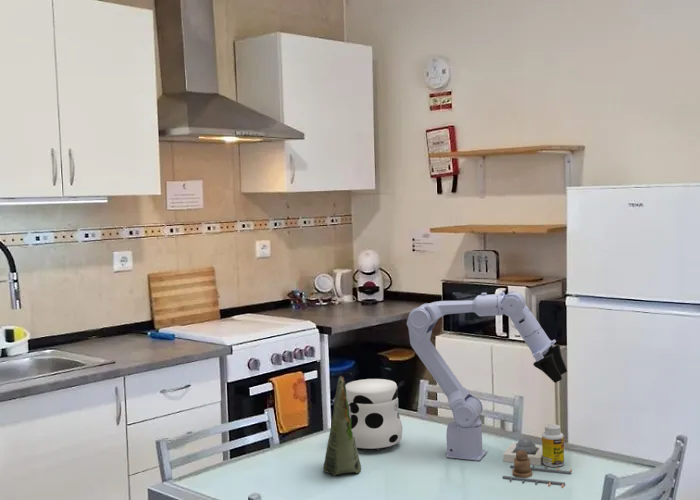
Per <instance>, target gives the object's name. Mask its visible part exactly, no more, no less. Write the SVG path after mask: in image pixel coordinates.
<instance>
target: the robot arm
mask: <svg viewBox="0 0 700 500" xmlns="http://www.w3.org/2000/svg"><path fill="white" fill-rule="evenodd" d="M465 313H475V315H477V316H478V317H494V316H503V315H505V316H507V317H509V319H510V320H511V322H512V323H513V326H514V327H515V329H516V331H517V332H518V333H519V335H520V336H521V337H522V340H523V341H524V342H525V344H526V346H527V347H528V348H529V350H530V352H531V354H532V357H533V359H535V362H533V363H532V365H533V367H534V368H537V369H538V370H540V371H541V372H542V373H544V374H545V375H546V376H547V377H548V378H549V379H550V380H551V381H552V382H553V383H555V384H556V383H558V382H560V381H562V379H563V378H562V375H563V374H565V373H567V372H568V370H567V367H566V364H565V362H564V359H563V357H562V352H561V345H560V344H559V343H558V344H556V345H554V344H555V343H556V342H557V340H556V339H553V340H551V339H550V338H549V336H548V335H547V333H546V332H545V330H544V329H543V327H542V326H541V324H540V322H539V321H538V320H537V318H536V317H535V315H534V314H533V312H532V311H531V310H530V308H529V307H528V306H527V305H526V299H525V296H523V294H521V292H517V291H510V292H507V294H506V293H505V291H500V293H497V294H495V293H493V294H488V293H487V292H481V293H480V294H478V295H477V296H475V298H474V299H473V300H439V301H433V302H430V303H428V302H425V303H423V304H421V305H419V306H418V307H415V308H413V309H412V310H411V311H410V312H409V314H408V317H407V320H406V326H407V328H408V336H409V343H410V346H411V348H412V350H414V352H415V354H416V355H417V356H418V358H419V359H420V360H421V362H422V364H424V366H425V368H426V369H427V370H428V372H429V373H430V375H431V376H432V378H433V379H434V380H435V382H436V383H437V385H438V386H439V388H440V390H441V391H442V392H443V394H444V395H445V396H446V398H447V403H448V407H449V409H450V410H451V412H452V416H453V417H452V418H453V420H454V422H449V423H448V424H447V425H446V435H445V436H446V437H445V438H446V458H449V459H458V460H466V461H467V460H468V461H481V459H482V458H483V457H485V455H486V454H487V453H488V450H487V449H483V427H482V420H481V419H480V418H481V417H480V416H481V414H482V412H483V408H484V407H483V403H482V401H481V400H480V399H479V398H478V397H476V396H475V395H473V394H472V393H471V392H470V390H469V389H467V387H466V388H465V386H463V385H462V383H461V382H460V381H459V379H458V377H456V375H455V374H454V372H453V371H452V369H451V368H450V366H449V365H448V364H447V362H446V360H445V359H444V358H443V356H442V355H441V353H440V352H439V351H438V350H437V347H436V346H435V345H434V344H433V342H432V341H431V338H432V334H433V328H434V327H435V325H436V323H437V322H438V320H439V319H440V318H442V317H443V316H446V315H453V314H465Z"/></svg>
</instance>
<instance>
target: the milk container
mask: <svg viewBox="0 0 700 500" xmlns="http://www.w3.org/2000/svg"><path fill="white" fill-rule="evenodd" d="M345 386H346V394H347V401H348V406H349V416H350V418H351V430H352V434H353V437H354V438H355V442H356V447H357V451H367V452H369V451H371V452H372V451H373V452H374V451H375V452H376V451H383V450H387V449H391V448H394V447H395V446H397V445H398V444H399V443H400V442H401V440H402V437H403V423H402V420H401V417H400V413H399V398H398V397H399V391H398V385H397V383H396V382H395V381H394V380H391V379H384V378H366V379H358V380H352V381H349V382H347V383H345Z"/></svg>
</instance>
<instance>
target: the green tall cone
mask: <svg viewBox="0 0 700 500" xmlns="http://www.w3.org/2000/svg"><path fill="white" fill-rule="evenodd" d="M345 385H346V382H345V378H344V376H341V375H340V376H339V377H338V379H337V385H336V391H335V396H334V403H333V411H332V412H333V413H332V418H331V425H330V431H329V436H328V442H327V446H326V449H325V450H326V451H325V456H324V463H323V468H322V470H323V471H324V472H326V473H329V474H331V475H333V476H336V475H337V476H338V475H341V474H345V473H346V474H347V473H348V474H349V473H355V474H360V473H359V472H361V470H362V465H361V461H360V457H359V452H358V451H359V450H358V449H357V447H356V442H355V438H354V437H353V434H352V430H351V418H350V416H349V406H348V401H347V394H346V386H345Z"/></svg>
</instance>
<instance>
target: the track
mask: <svg viewBox="0 0 700 500" xmlns="http://www.w3.org/2000/svg"><path fill="white" fill-rule="evenodd" d="M509 467H510V468H511V469H514V464H511V465H509ZM547 467H548V466H546V465H545V466H544V468H542V467H535V465H533V464H532V466H530V469H531V470H532V471H533V472H534V471H537V472H544V473H552V474H553V473H554V474H555V473H556V474H561V475H562V474H564V475H572V471H573V470H572V468H570V469H569V470H562V469H561V470H560V468H559V467H557V468H556V469H552V468H547ZM501 478H502V479H503V480H509V483H511V482H512V481H520V482H521V483H522V484H524V483H526V482H529V483H534V485H536V486H537V485H538V483H539V484H546V485H547V484H548V485H547V486H548V487H550V486H551V485H557V486H561V489H564V487H565V486H566V482H563V481H555V480H545V479H538V478H537V479H536V478H530V477H528V478H520V477H515V476H512V475H511V476H510V475H502V477H501Z"/></svg>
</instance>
